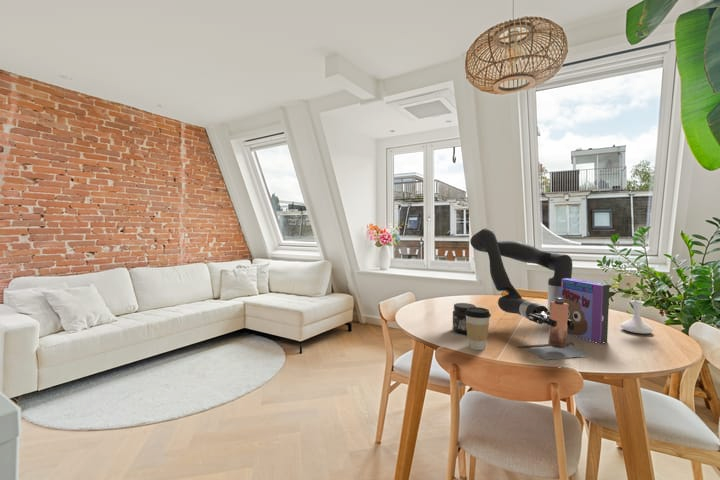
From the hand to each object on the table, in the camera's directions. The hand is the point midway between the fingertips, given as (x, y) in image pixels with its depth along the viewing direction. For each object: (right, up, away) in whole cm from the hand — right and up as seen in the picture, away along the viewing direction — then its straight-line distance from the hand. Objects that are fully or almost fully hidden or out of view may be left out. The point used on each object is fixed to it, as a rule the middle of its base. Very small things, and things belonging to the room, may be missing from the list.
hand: (563, 323), depth 128 cm
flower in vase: (+48, -10, +28) cm, 57 cm away
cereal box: (+21, -11, +22) cm, 32 cm away
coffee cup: (-29, -12, +9) cm, 32 cm away
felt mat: (0, -12, +3) cm, 12 cm away
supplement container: (-28, -11, +29) cm, 41 cm away
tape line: (0, -11, +11) cm, 16 cm away
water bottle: (0, -9, +3) cm, 9 cm away
